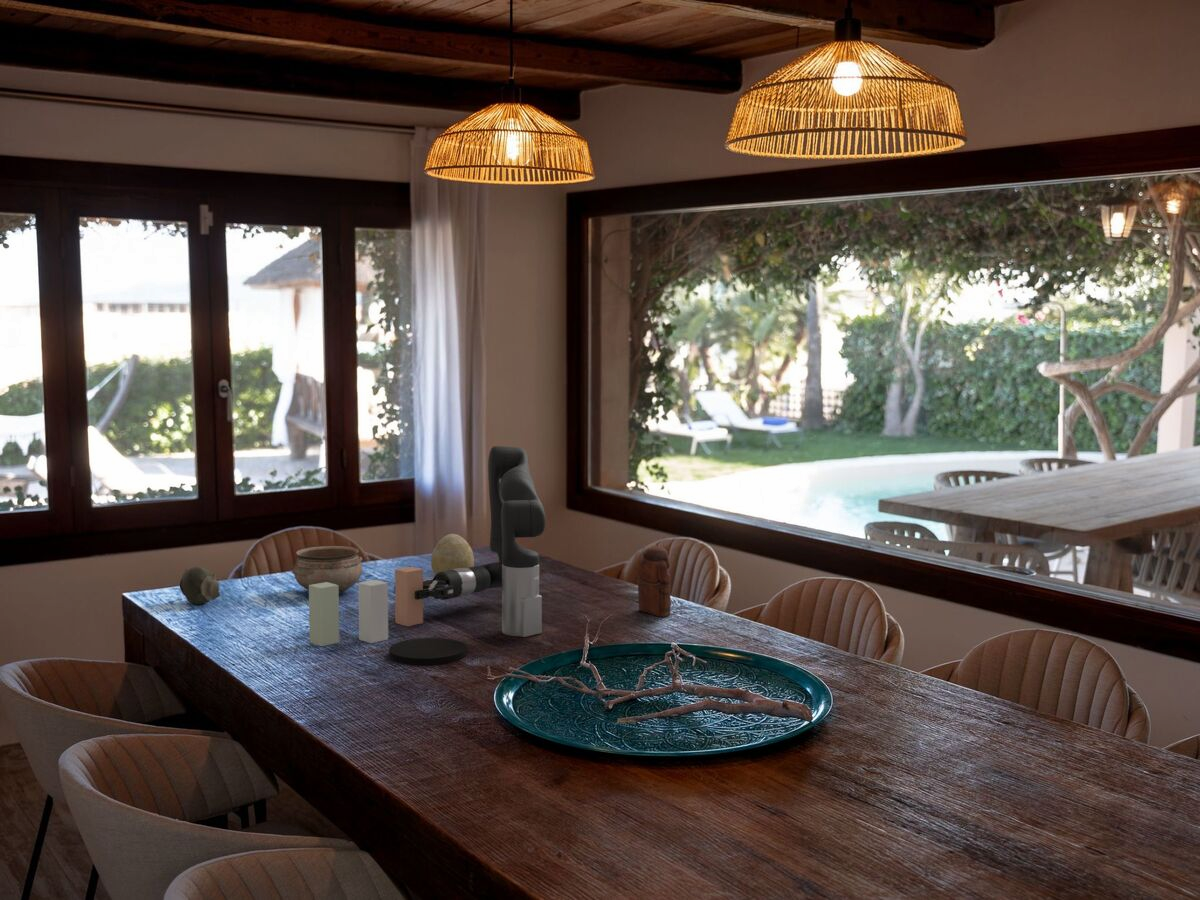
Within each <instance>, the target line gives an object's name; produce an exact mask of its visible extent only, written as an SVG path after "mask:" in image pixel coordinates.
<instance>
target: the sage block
mask: <svg viewBox="0 0 1200 900" xmlns="http://www.w3.org/2000/svg"><path fill="white" fill-rule="evenodd" d="M339 595H340V594H339V585H336V584H332V583H328V582H324V583H318V584H312V585H309V590H308V610H309V611H308V612H309V613H308V619H309V620H308V621H309V625H308V627H309V643H311V644H314V645H316V646H320V647H324V646H329V645H334V644H339V643H340V612H339V611H340V604H339V602H340V600H339V598H340V596H339Z"/></svg>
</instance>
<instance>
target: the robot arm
mask: <svg viewBox="0 0 1200 900" xmlns="http://www.w3.org/2000/svg"><path fill="white" fill-rule="evenodd" d="M487 462H488V463H487V479H488V496H489V509H490V534H489V535H490V537H489V548H490V551H491V552H493V553H495V554H497V557H498V561H494V562H489V563H485V564H482V565H481V564H480V565H478V566H475V565H474V566H473V567H469V568H458V569H453V570H447V571H441V572H438V573H437V574H436V575H435V574H434V576H433V578H426V579H423V590H417V591H415V599H417V600H419V599H423V600H424V599H427V598H428V599H434V600H441V601H446V600H451V599H455V598H461V597H464V596H467V595H471V594H476V593H479V592H483V591H486V590H487V589H488V590H489V589H497V588H501V633H502V634H503V635H506V636H510V637H522V638H525V637H530V636H535V635H537V634H542V631H543V629H542V626H543V625H542V621H543V619H542V618H543V617H542V615H543V599H542V598H543V597H542V595H540V555H539V553H538V552H537V551H535V550H533V549H529V548H526V547H524V546H522V545H520V544H518V543H517V541H516V538H519V539H520V538H536V537H540V536H541V535H542V534H543V533H544V531H545V529H546V526H547V525H546V524H547V523H546V522H547V517H546V512H545V509H544V506H543V503H542V501H541V499H540V498H539V496H538V494H537V490H536V485H535V483H534V480H533V478H532V474H531V471H530V465H529V457H528V453H527V451H526V450H525V449H524V448H522V447H515V446H502V445H499V446H498V445H494V446H492V447H491V448H490V451H489V454H488V461H487ZM394 590H395V586H394Z"/></svg>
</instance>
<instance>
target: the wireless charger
mask: <svg viewBox="0 0 1200 900" xmlns="http://www.w3.org/2000/svg"><path fill="white" fill-rule="evenodd" d="M388 655H389V656H388V657H389V659H390V660H391V661H392V662H395V663H397V664H402V665H407V666H415V667H416V666H418V667H423V666H424V667H428V666H429V667H430V666H431V667H432V666H440V665H441V666H442V665H448V664H453V663H456V662H459V661H462V660H463V659H464V658H466V656H467V655H468V647H467V644H466V643H464V642H463V641H460V640H456V639H451V638H444V637H442V638H441V637H420V638H412V639H407V640H402V641H399V642H396V643H394V644H392V645H390V647H389V650H388Z"/></svg>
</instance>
